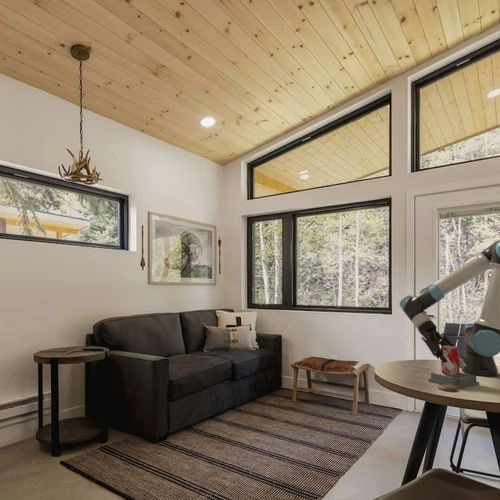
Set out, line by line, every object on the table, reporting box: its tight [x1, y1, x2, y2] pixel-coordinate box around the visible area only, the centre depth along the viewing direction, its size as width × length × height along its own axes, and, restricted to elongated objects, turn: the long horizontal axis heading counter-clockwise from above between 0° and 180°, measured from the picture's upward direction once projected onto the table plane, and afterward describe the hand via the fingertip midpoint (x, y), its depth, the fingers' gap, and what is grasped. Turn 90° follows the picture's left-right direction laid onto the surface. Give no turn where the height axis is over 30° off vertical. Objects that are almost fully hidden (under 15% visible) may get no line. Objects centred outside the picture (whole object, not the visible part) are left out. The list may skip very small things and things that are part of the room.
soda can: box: [440, 345, 461, 376], centre depth 172 cm, size 7×7×12 cm
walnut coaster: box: [437, 384, 458, 393], centre depth 161 cm, size 7×7×1 cm
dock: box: [427, 371, 480, 390], centre depth 170 cm, size 14×14×4 cm
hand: (458, 367), depth 169 cm, fingers closed on soda can, 7 cm apart
